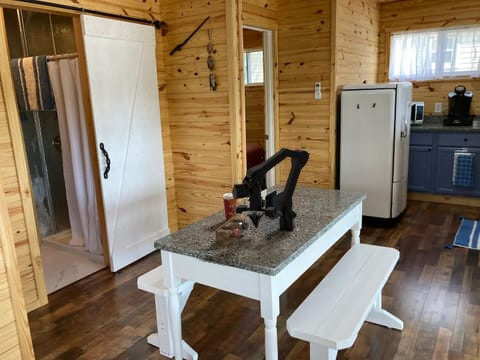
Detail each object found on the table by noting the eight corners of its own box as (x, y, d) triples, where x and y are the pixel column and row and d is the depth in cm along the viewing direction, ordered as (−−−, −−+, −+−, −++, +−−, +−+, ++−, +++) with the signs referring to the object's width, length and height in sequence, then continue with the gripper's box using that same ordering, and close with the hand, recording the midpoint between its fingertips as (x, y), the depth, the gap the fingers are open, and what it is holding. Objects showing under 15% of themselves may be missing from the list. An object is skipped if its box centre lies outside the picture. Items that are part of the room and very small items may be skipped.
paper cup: (233, 223, 203) (231, 197, 200) (221, 221, 207) (219, 195, 204) (241, 218, 209) (240, 193, 206) (229, 217, 213) (227, 192, 210)
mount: (245, 229, 193) (245, 217, 192) (228, 245, 175) (227, 231, 174) (234, 228, 195) (234, 216, 194) (216, 243, 178) (215, 230, 176)
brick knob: (240, 236, 180) (240, 227, 179) (236, 239, 176) (236, 230, 175) (224, 234, 183) (224, 226, 182) (220, 237, 180) (220, 229, 179)
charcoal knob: (249, 228, 189) (248, 220, 188) (245, 231, 185) (245, 223, 184) (233, 227, 192) (233, 219, 191) (230, 229, 188) (229, 221, 187)
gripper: (280, 192, 184) (281, 223, 188) (243, 190, 192) (245, 220, 196) (272, 199, 174) (273, 232, 178) (233, 196, 182) (235, 228, 186)
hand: (256, 227), depth 185 cm, fingers closed
